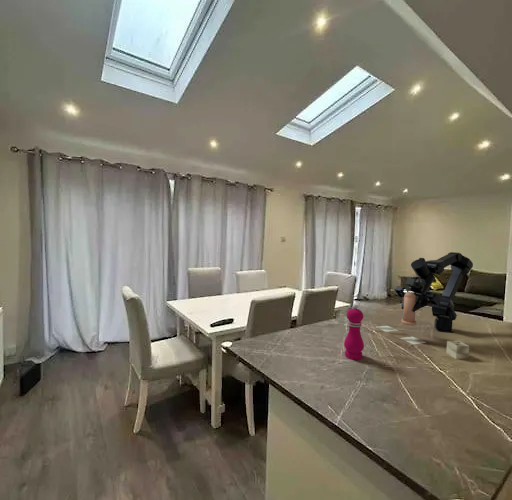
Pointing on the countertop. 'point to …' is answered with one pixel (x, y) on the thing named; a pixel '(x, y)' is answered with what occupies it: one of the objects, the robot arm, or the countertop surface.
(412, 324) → the tan knob handle
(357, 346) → the pepper mill
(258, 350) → the countertop surface
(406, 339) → the board
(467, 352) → the die
